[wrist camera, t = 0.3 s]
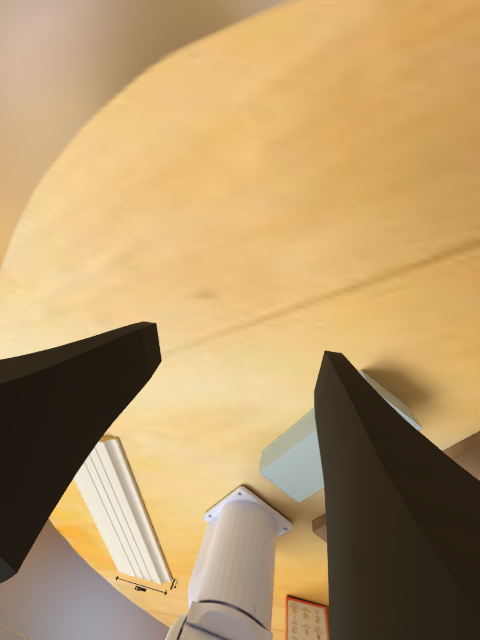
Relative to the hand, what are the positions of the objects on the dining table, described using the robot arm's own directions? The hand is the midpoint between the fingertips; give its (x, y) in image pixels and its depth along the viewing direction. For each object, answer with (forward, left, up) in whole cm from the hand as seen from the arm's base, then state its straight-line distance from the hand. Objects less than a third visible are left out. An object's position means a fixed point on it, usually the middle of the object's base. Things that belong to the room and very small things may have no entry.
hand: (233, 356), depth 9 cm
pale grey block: (-7, -13, -11) cm, 18 cm away
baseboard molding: (-42, -4, -11) cm, 43 cm away
